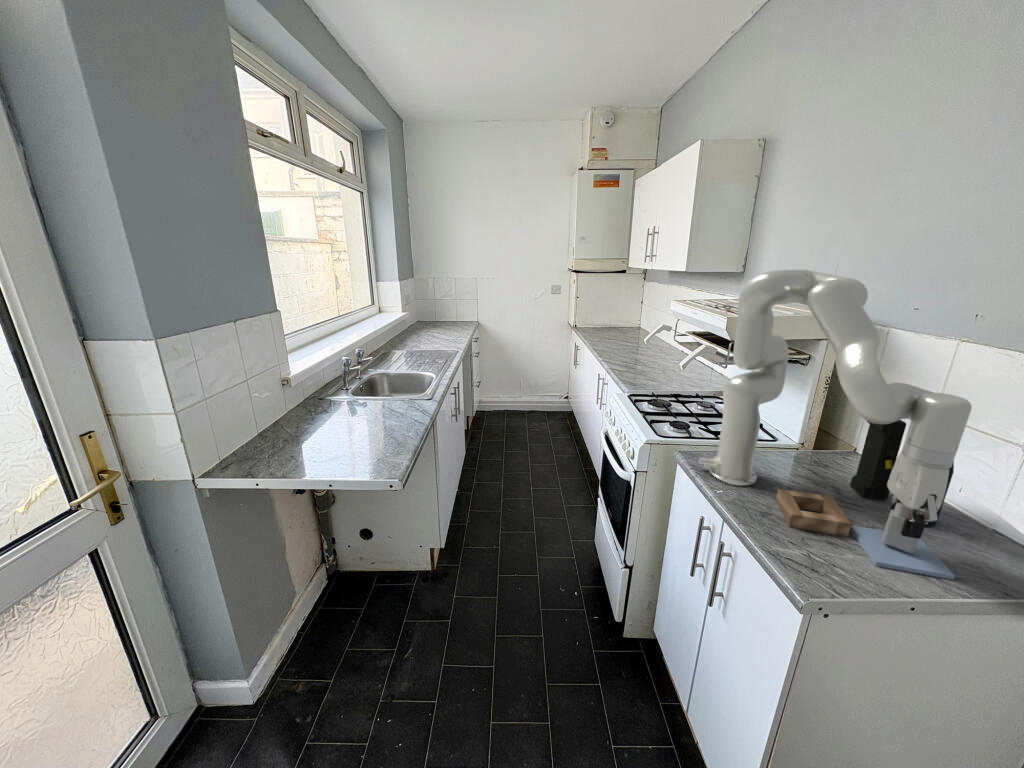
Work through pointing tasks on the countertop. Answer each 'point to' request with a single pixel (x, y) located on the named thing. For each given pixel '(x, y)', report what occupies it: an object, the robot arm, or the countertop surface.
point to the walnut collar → (825, 522)
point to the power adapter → (899, 529)
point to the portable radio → (878, 460)
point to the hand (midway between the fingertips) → (903, 527)
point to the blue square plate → (900, 555)
